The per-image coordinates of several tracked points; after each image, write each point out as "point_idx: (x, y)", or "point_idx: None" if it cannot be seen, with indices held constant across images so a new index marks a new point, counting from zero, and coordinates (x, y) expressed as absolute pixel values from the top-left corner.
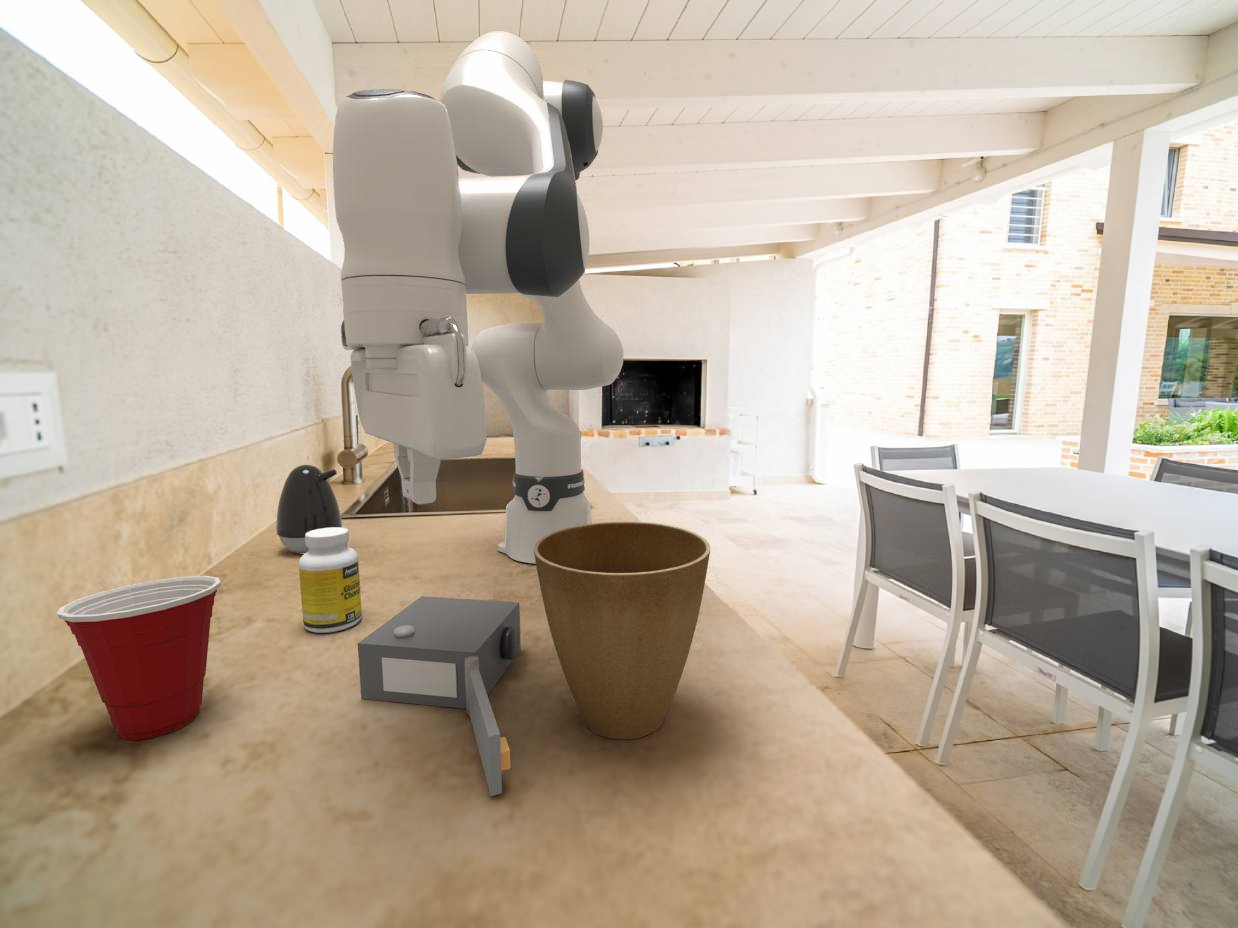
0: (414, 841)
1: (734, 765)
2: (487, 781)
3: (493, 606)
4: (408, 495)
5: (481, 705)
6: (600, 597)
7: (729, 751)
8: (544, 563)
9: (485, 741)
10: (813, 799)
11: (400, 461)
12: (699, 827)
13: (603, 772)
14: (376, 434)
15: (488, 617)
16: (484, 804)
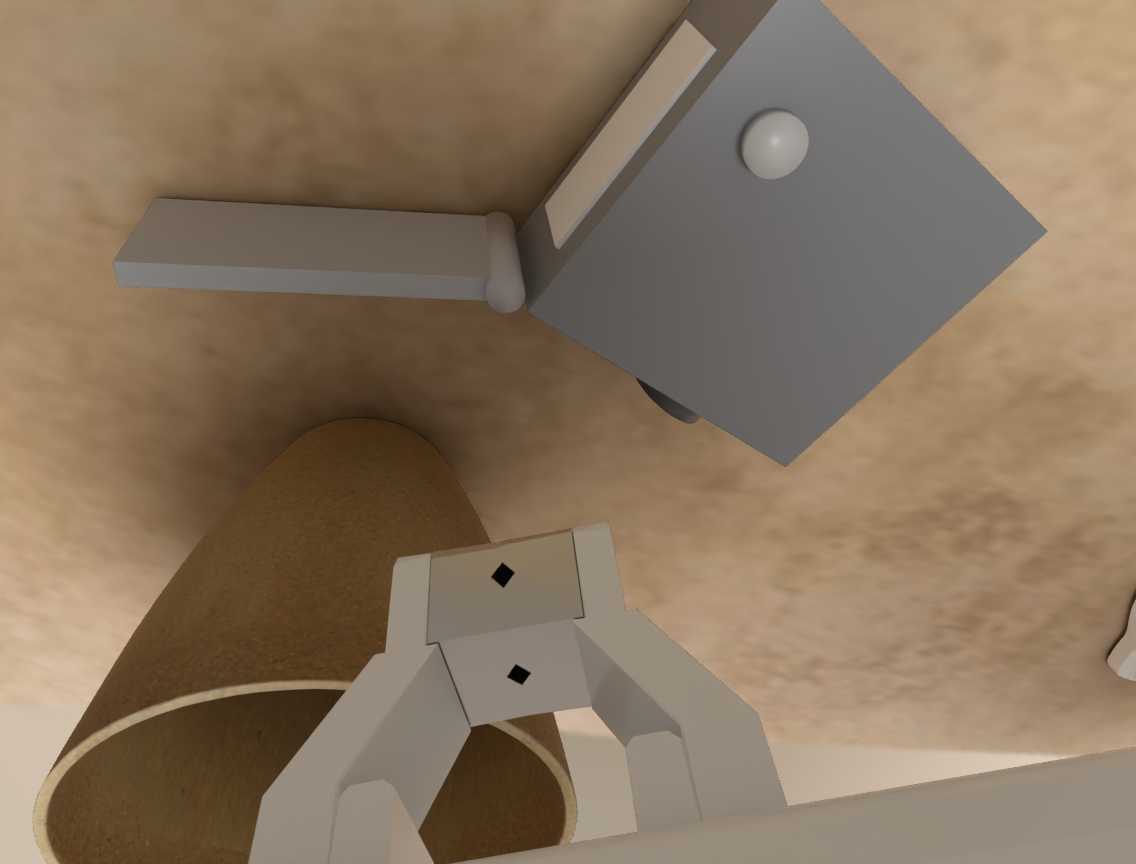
0: (55, 17)
1: (157, 570)
2: (196, 202)
3: (804, 405)
4: (492, 556)
5: (263, 272)
6: (91, 703)
7: None
8: (226, 682)
9: (185, 242)
10: (51, 617)
11: (653, 704)
12: (13, 476)
13: (193, 400)
14: (1088, 783)
15: (737, 381)
16: (147, 179)
